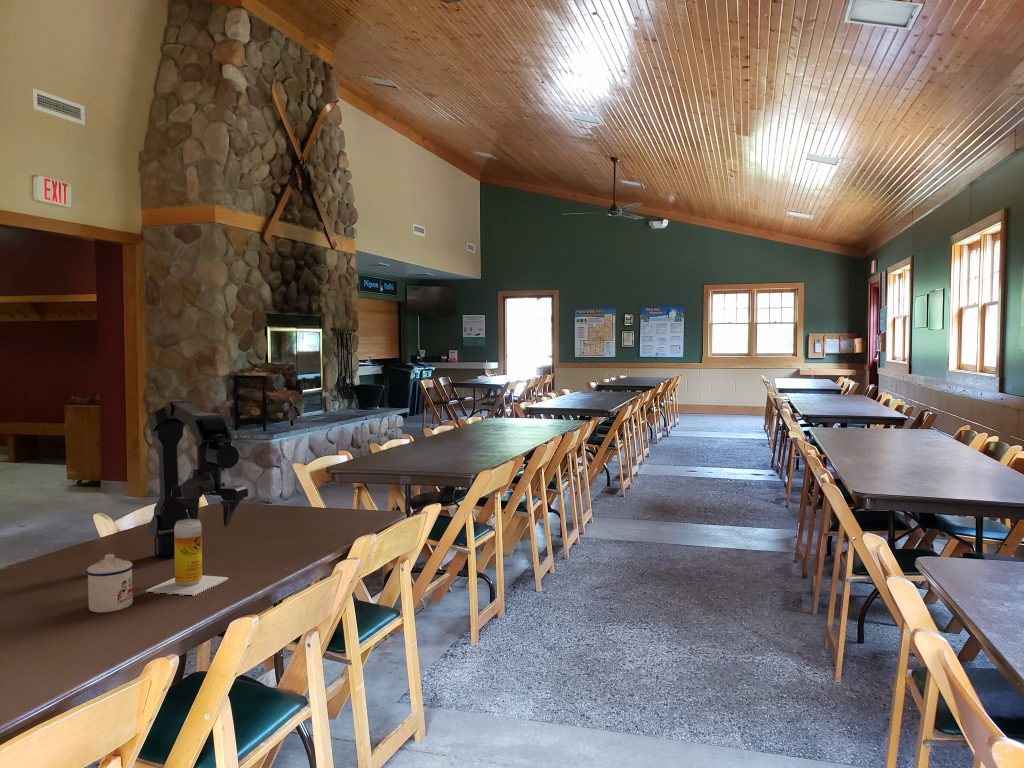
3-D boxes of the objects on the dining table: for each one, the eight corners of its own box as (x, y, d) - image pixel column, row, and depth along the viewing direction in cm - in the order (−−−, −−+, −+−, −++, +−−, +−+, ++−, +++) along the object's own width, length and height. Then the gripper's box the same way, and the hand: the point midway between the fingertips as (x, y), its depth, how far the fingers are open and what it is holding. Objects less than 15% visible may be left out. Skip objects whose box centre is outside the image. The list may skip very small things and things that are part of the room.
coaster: (146, 592, 172) (146, 589, 172) (182, 575, 185) (182, 573, 185) (194, 596, 169) (194, 593, 169) (228, 579, 182) (228, 576, 182)
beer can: (191, 587, 174) (190, 524, 173) (169, 585, 175) (168, 523, 175) (207, 579, 180) (206, 519, 179) (186, 578, 181) (185, 518, 181)
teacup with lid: (125, 612, 159) (124, 559, 159) (80, 614, 158) (79, 561, 157) (143, 594, 171) (142, 545, 171) (101, 596, 169) (100, 547, 169)
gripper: (155, 467, 179) (156, 530, 180) (221, 470, 175) (222, 535, 175) (185, 460, 190) (186, 520, 191) (248, 463, 185) (249, 524, 186)
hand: (210, 525), depth 185 cm, fingers open, 9 cm apart
